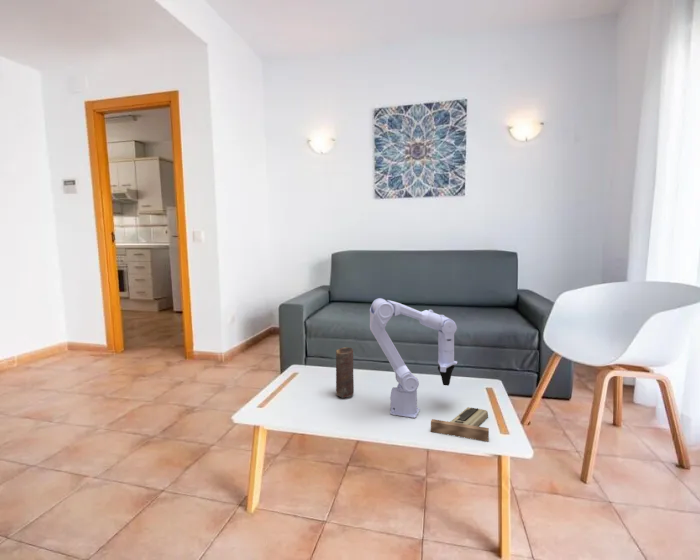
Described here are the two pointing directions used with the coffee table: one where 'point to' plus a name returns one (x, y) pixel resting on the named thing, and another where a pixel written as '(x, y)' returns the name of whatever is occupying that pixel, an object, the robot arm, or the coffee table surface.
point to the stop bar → (460, 430)
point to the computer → (471, 417)
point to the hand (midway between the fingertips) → (446, 384)
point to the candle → (344, 372)
